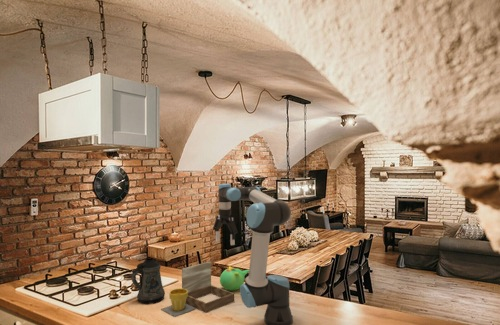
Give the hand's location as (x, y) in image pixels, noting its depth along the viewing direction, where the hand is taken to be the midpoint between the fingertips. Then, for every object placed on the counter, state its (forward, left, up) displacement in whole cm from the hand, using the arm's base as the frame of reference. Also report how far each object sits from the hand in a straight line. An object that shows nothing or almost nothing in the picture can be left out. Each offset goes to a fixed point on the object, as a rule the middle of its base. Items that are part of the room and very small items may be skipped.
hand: (225, 243), depth 211 cm
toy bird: (+10, -16, -35) cm, 40 cm away
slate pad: (+9, +28, -35) cm, 45 cm away
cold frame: (+5, +9, -35) cm, 36 cm away
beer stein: (+34, +32, -35) cm, 58 cm away
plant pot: (+9, +28, -34) cm, 45 cm away
